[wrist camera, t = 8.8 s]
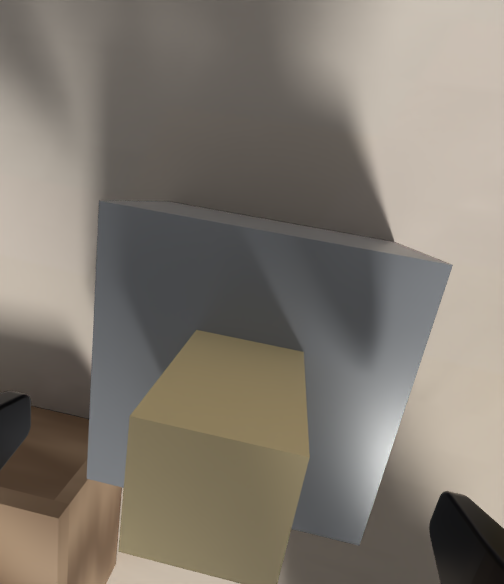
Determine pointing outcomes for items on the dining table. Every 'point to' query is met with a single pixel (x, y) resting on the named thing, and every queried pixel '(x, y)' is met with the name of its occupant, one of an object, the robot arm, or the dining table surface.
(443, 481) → the dining table surface
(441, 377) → the dining table surface
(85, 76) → the dining table surface
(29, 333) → the dining table surface
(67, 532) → the hood walnut
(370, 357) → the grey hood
